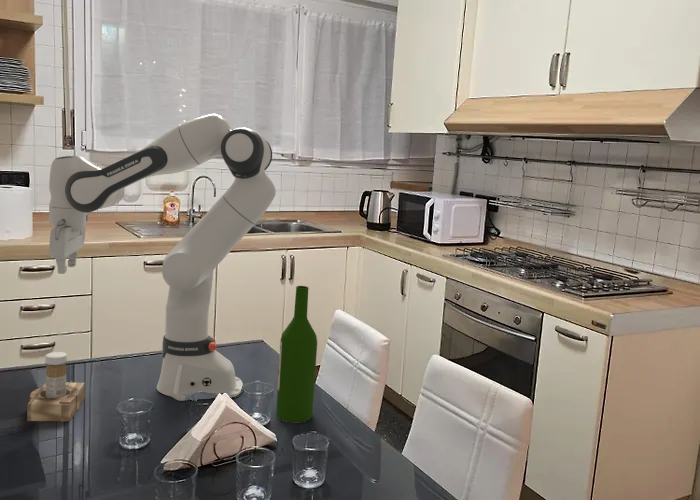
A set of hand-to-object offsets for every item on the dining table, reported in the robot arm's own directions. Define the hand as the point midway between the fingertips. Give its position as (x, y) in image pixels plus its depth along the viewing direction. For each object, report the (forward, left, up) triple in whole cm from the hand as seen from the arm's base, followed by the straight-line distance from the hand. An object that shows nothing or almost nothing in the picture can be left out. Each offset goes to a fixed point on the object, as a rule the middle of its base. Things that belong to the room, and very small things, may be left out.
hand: (67, 269), depth 172 cm
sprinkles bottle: (-4, +23, -29) cm, 37 cm away
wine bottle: (-60, +26, -29) cm, 72 cm away
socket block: (-4, +23, -29) cm, 37 cm away
